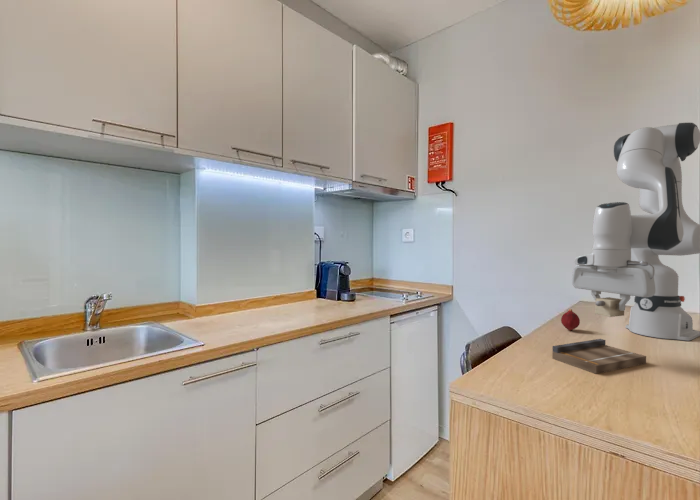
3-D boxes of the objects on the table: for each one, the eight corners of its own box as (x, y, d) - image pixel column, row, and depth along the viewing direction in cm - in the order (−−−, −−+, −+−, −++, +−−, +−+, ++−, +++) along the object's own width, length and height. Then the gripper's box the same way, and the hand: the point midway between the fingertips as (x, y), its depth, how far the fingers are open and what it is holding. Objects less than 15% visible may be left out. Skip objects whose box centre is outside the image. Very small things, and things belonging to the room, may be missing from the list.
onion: (582, 333, 123) (583, 311, 123) (564, 332, 124) (565, 310, 124) (575, 329, 129) (575, 307, 128) (558, 328, 130) (558, 307, 130)
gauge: (613, 312, 101) (613, 296, 101) (628, 314, 97) (629, 299, 97) (590, 314, 98) (590, 298, 97) (605, 317, 94) (605, 301, 94)
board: (600, 350, 104) (600, 338, 104) (646, 363, 93) (646, 350, 93) (552, 358, 97) (552, 346, 97) (596, 373, 86) (596, 360, 86)
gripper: (662, 261, 89) (660, 315, 89) (583, 257, 108) (582, 301, 108) (646, 262, 86) (645, 316, 87) (569, 258, 105) (568, 303, 106)
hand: (609, 308), depth 97 cm, fingers closed on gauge, 4 cm apart
